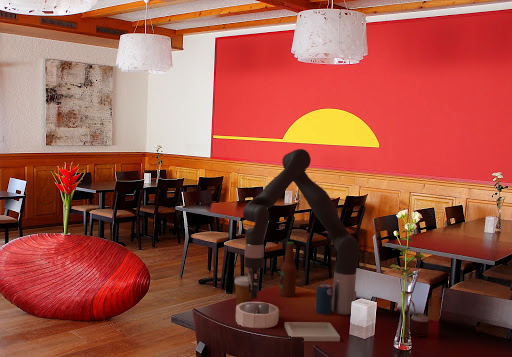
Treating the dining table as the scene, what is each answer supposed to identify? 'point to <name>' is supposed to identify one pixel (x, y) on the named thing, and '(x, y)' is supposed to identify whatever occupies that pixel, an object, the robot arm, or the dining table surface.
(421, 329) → the mate gourd
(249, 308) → the grey cylinder
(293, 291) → the bottle
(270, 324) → the bowl
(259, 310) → the grey cylinder
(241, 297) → the disposable coffee cup
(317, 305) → the soda can
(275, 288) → the dining table surface
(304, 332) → the tray
